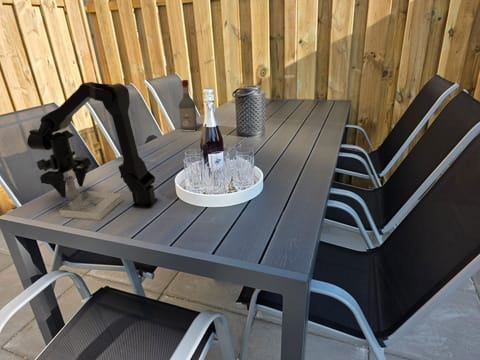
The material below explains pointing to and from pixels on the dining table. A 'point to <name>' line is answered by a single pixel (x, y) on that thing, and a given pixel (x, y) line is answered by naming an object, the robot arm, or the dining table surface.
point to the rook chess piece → (71, 188)
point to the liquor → (187, 109)
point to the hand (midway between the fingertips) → (72, 191)
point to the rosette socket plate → (82, 210)
